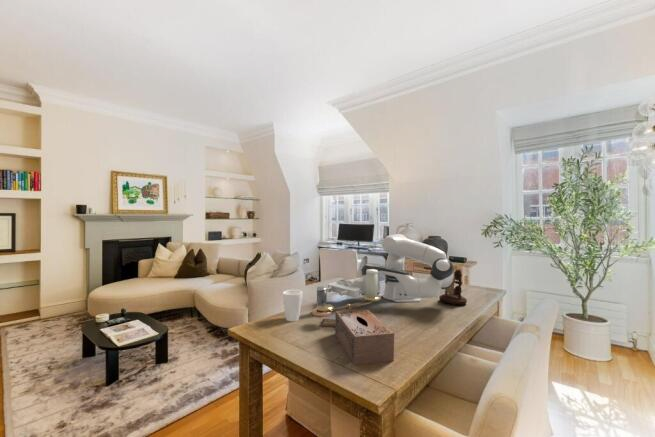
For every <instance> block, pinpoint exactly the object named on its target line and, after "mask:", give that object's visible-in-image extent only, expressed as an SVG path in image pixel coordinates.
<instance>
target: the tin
mask: <svg viewBox="0 0 655 437" xmlns="http://www.w3.org/2000/svg"><path fill="white" fill-rule="evenodd" d="M327 288H328V286H321V285H320V286H317V287H316V307H317V306H318V305H320V304H327V298H328V297H327V294H328V292H327ZM317 312H320V313H324V311H319V310H317Z"/></svg>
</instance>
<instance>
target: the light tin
mask: <svg viewBox="0 0 655 437" xmlns="http://www.w3.org/2000/svg"><path fill="white" fill-rule="evenodd" d="M377 278H378V270H375V269H367V270H366V297H368V298H377Z"/></svg>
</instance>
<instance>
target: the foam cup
mask: <svg viewBox="0 0 655 437" xmlns="http://www.w3.org/2000/svg"><path fill="white" fill-rule="evenodd" d="M282 299H283V305H284V314H285V315H284V316H285V319H286V322H298V321H299V320H300V313H301V307H302V301H303V300H302V299H303V291H302V290H299V289H287V290H283V292H282Z"/></svg>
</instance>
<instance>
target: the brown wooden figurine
mask: <svg viewBox="0 0 655 437" xmlns="http://www.w3.org/2000/svg"><path fill="white" fill-rule="evenodd" d="M453 272H454V278H453V283H452V285H451V286H450V287H449V288H447V289H444V293H443V294H440V295H439V296H438V298H439V301H440V302H441V301H442V302H444V303H448V304H452V306H453V307H454V306H455V305H463V304H465V305H466V304H467V303H468V302H467V300H468V299H467V298H466V297H464V296H462V295H461V294H462V292H463V291H462V285H463V281H462V278H463V274H462V271H461V269H456V270H455V271H453ZM455 284H457V285H456V286H455Z"/></svg>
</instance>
